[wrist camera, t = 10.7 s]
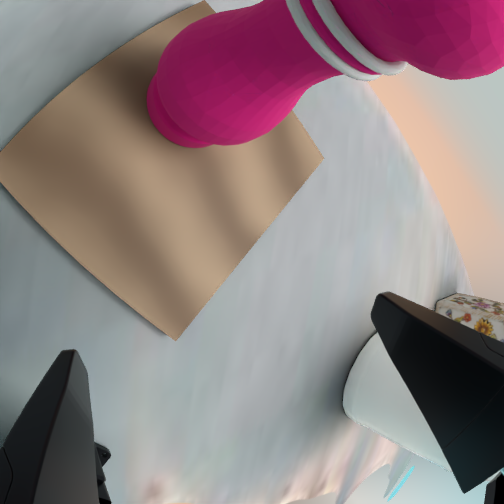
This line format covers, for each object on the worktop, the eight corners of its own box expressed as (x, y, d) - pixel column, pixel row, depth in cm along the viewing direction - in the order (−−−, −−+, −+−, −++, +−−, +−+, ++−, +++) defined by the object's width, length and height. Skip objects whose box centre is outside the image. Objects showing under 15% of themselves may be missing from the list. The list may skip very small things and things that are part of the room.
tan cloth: (169, 334, 21) (175, 341, 20) (-8, 169, 13) (-13, 167, 12) (314, 159, 26) (324, 158, 25) (197, 7, 18) (204, 0, 17)
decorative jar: (457, 291, 51) (536, 310, 36) (445, 347, 52) (519, 370, 37) (435, 299, 44) (532, 324, 30) (421, 364, 46) (509, 395, 31)
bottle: (323, 422, 32) (524, 525, 9) (369, 314, 33) (599, 383, 10) (378, 414, 40) (530, 481, 17) (413, 330, 41) (578, 379, 18)
